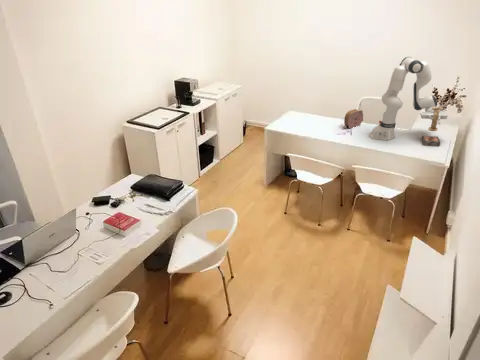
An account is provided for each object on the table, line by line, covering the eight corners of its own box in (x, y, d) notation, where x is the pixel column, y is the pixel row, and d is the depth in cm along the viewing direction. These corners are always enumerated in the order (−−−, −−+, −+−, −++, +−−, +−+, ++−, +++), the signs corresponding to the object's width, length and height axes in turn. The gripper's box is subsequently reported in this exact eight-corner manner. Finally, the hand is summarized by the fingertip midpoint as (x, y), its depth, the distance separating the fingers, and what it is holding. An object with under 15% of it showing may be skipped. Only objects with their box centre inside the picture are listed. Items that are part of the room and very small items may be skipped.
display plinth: (422, 145, 309) (423, 141, 307) (420, 140, 319) (421, 135, 317) (439, 146, 305) (440, 141, 303) (436, 140, 315) (437, 136, 313)
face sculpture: (348, 129, 350) (349, 113, 342) (343, 127, 355) (344, 111, 347) (362, 125, 358) (364, 109, 350) (357, 123, 363) (359, 107, 355)
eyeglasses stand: (428, 131, 304) (433, 109, 294) (427, 128, 310) (431, 106, 300) (438, 131, 302) (443, 109, 292) (437, 128, 308) (442, 106, 298)
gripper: (420, 109, 313) (422, 115, 301) (446, 110, 307) (449, 115, 296) (418, 116, 316) (421, 122, 304) (444, 117, 310) (447, 122, 299)
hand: (435, 119), depth 300 cm, fingers closed on eyeglasses stand, 4 cm apart
